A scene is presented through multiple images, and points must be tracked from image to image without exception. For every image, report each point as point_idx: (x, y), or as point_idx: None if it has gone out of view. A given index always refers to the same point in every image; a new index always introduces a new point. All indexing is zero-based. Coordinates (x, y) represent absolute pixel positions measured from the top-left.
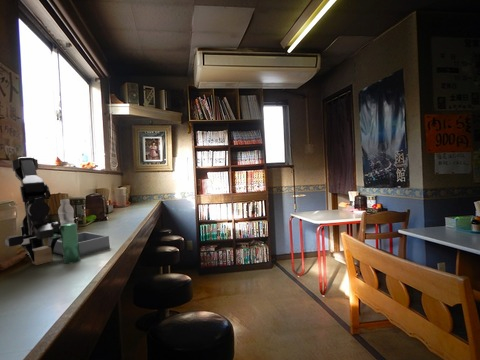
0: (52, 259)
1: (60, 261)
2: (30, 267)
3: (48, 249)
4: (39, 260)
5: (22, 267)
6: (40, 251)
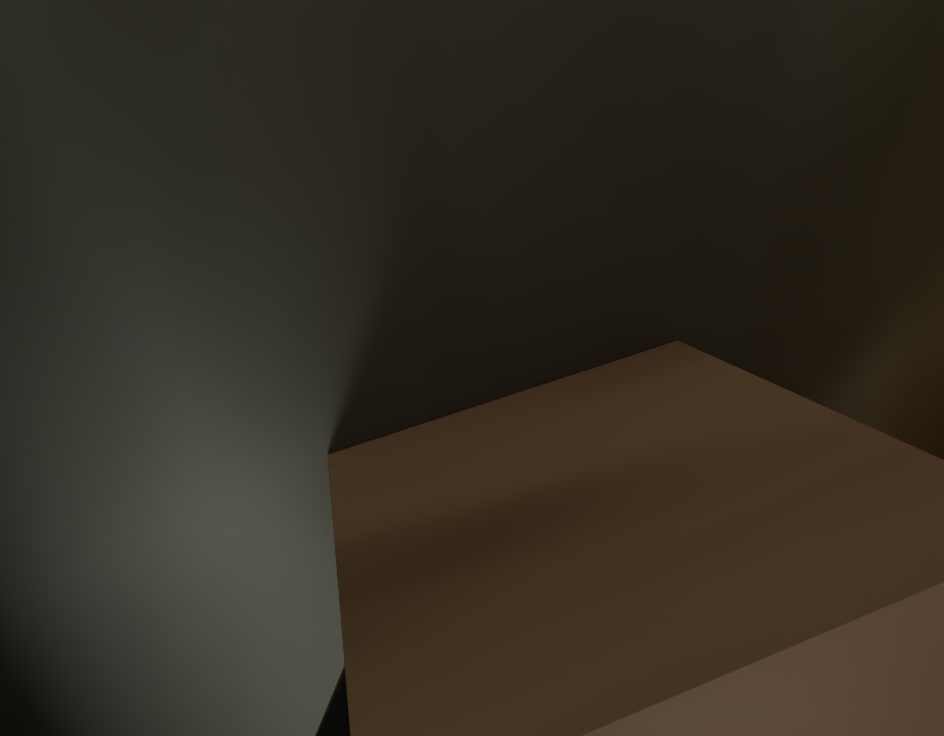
0: (331, 474)
1: (93, 155)
2: (796, 237)
3: (486, 685)
4: (663, 392)
5: (890, 405)
6: (812, 550)
